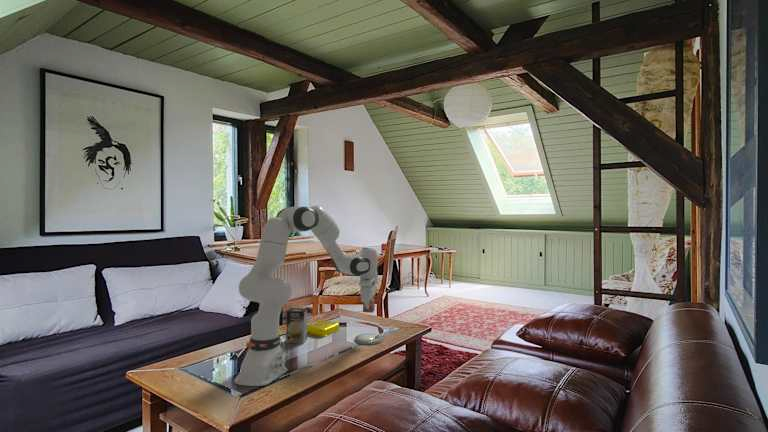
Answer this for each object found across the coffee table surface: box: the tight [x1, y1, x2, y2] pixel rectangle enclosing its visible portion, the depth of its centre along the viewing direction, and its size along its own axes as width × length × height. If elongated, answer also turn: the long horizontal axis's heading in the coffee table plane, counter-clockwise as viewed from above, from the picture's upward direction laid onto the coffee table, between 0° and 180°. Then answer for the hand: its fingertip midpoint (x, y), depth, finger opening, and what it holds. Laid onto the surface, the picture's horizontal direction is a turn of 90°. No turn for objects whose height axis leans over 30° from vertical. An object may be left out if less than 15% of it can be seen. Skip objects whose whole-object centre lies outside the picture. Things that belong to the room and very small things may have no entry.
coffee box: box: [285, 307, 308, 345], centre depth 209 cm, size 9×6×16 cm
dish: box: [354, 333, 384, 346], centre depth 212 cm, size 14×14×1 cm
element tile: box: [307, 318, 340, 338], centre depth 226 cm, size 15×15×5 cm
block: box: [362, 297, 376, 314], centre depth 211 cm, size 5×5×6 cm
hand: (368, 307), depth 211 cm, fingers closed on block, 5 cm apart
